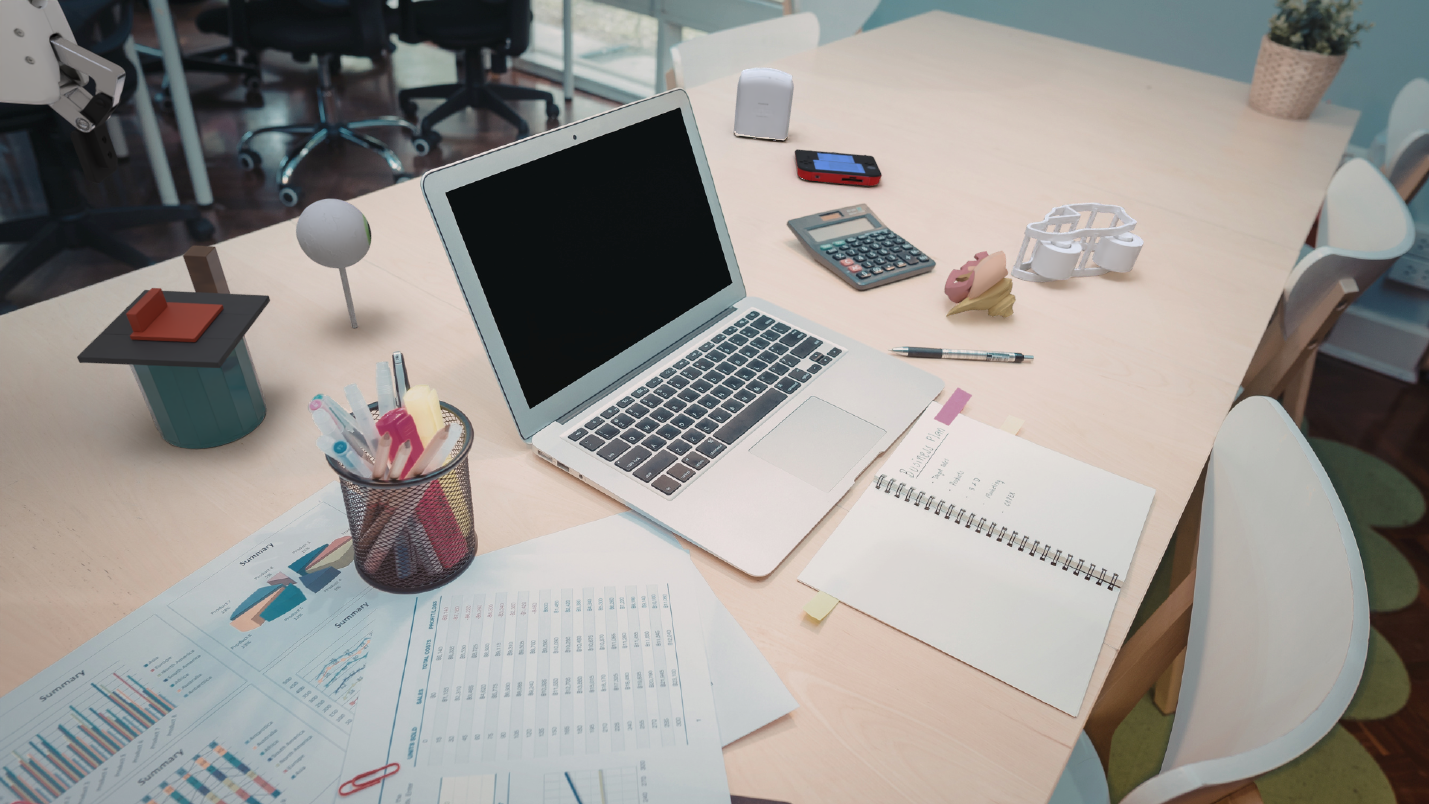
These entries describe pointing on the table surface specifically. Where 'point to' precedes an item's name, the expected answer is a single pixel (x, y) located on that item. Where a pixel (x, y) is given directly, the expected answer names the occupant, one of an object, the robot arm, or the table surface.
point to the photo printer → (764, 103)
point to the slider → (169, 318)
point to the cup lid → (202, 353)
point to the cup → (204, 400)
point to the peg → (205, 270)
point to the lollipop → (335, 239)
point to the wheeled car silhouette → (1078, 245)
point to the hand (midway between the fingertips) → (36, 171)
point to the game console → (837, 168)
